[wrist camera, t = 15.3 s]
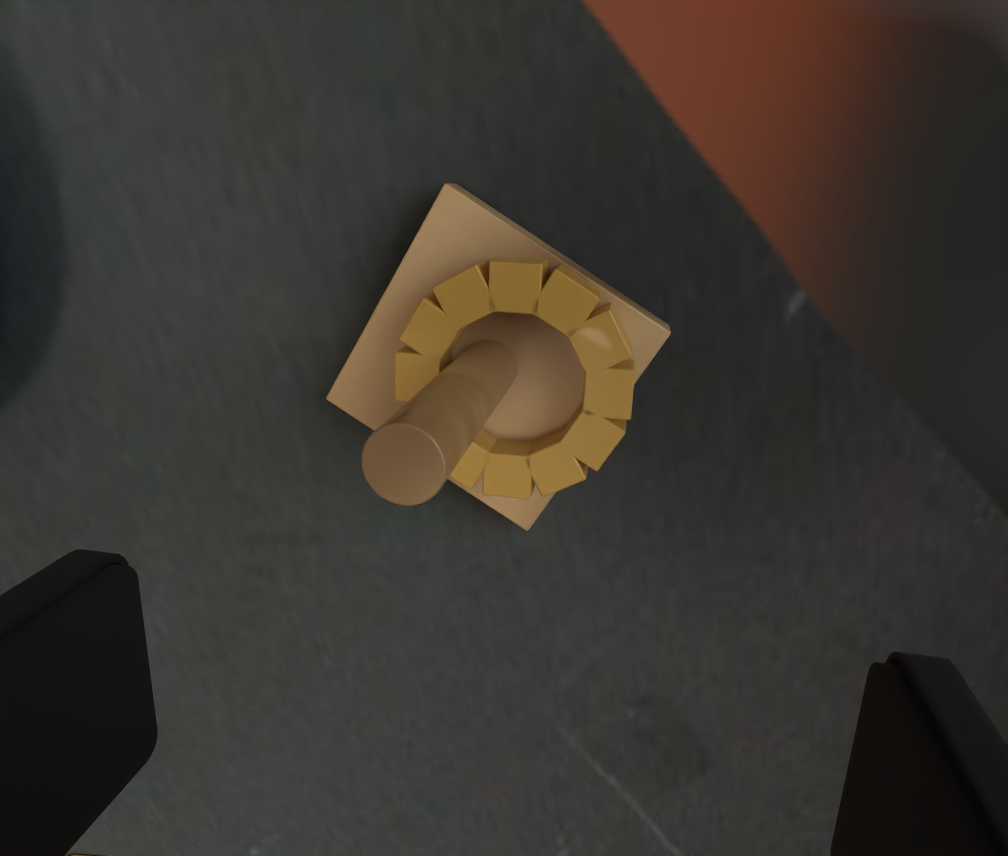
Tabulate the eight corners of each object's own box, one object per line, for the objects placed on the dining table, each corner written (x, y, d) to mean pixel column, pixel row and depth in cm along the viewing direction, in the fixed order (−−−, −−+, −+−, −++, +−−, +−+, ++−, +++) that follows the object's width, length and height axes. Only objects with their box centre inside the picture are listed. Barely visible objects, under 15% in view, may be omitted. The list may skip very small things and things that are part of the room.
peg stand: (669, 325, 26) (688, 419, 15) (532, 515, 29) (468, 703, 19) (455, 182, 26) (322, 176, 15) (340, 389, 29) (162, 505, 18)
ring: (682, 344, 25) (684, 354, 23) (550, 521, 28) (545, 540, 26) (481, 210, 25) (470, 211, 23) (369, 402, 28) (353, 414, 26)
